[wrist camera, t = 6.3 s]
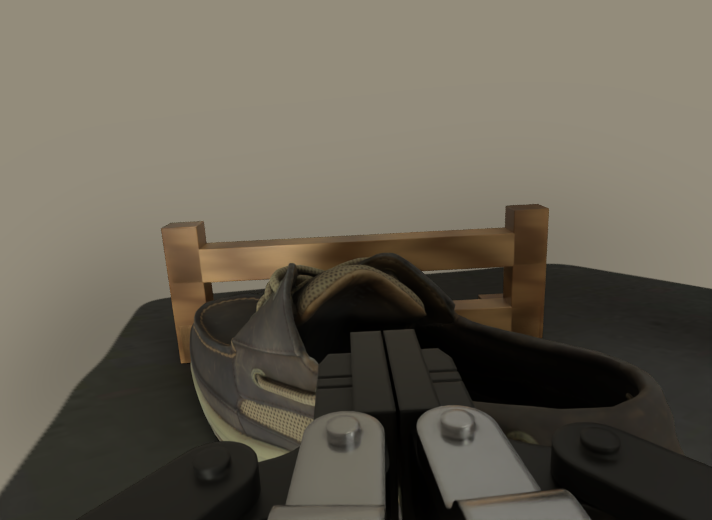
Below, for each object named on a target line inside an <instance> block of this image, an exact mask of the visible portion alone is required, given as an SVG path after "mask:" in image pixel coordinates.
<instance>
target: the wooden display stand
mask: <svg viewBox="0 0 712 520" xmlns="http://www.w3.org/2000/svg"><path fill="white" fill-rule="evenodd" d="M548 218H549V209H548V208H546V207H544V206H541V205H539V204H529V205H510V206H506V213H505V228H487V229H468V230H449V231H429V232H410V233H392V234H391V233H390V234H371V235H352V236H332V237H314V238H294V239H275V240H256V241H237V242H216V243H206V236H205V228H204V222H203V221H197V222H178V223H170V224H168V225H166V226H164V227H163V228H161V232H162V239H163V246H164V253H165V259H166V266H167V273H168V280H169V286H170V293H171V300H172V306H173V313H174V320H175V327H176V333H177V340H178V347H179V353H180V360H181V363H191V357H190V331H191V327H192V325H193V323H194V316H195V313H196V311H197V310H198V309H199V308H200V307H201V306H202V305H203V304H205V303H206V302H209V301H212V300H214V299H213V291H212V283H211V282H225V281H245V280H264V279H270V278H271V276H272V275H273V273H274V272H275V271H276V270H277V269H279V268H282V267H285V266H288V265H289V263H295V265H304V266H309V267H313V268H317V269H321V270H324V271H326V270H328V269H331V268H333V267H335V266H337V265H339V264H342V263H344V262H347V261H350V260H353V259H357V258H364V257H372V256H374V255H376V254H379V253H395V254H397V255H399V256H401V257H403V258H404V259H406V260H407V261H409V262H410V263H412V264H413V265H414V266H415V267H417V268H418V269H419V270H420V271H434V270H453V269H470V268H471V269H472V268H491V267H504V281H503V294H486V295H478V299H475V300H457V301H453V302H454V303H455V309H454V310H455V312H456V313H457V314H458V315H460V316H463V317H465V318H467V319H469V320H471V321H473V322H476V323H480V324H483V325H487V326H491V327H495V328H499V329H502V330H506V331H511V332H516V333H521V334H525V335H529V336H533V337H537V338H542V335H543V316H544V296H545V277H546V256H547V238H548ZM304 276H307V275H304Z"/></svg>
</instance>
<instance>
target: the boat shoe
mask: <svg viewBox="0 0 712 520" xmlns="http://www.w3.org/2000/svg"><path fill="white" fill-rule="evenodd" d="M304 275H307V276H304ZM454 309H455V303H454V302H453V301H452V300H451V299H450V298H449V297H448V296H447V295H446V294H445V293H444V292H443V291H442V290H441V289H440V288H439V287H438V286H437V285H436V284H435V283H434V282H433V281H432V280H430V279H429V278H428V277H427V276H426V275H425V274H424V273H423V272H422V271H420V270H419V269H418V268H417V267H415V266H414V265H413V264H412V263H410V262H409V261H407V260H406V259H404V258H403V257H401V256H399V255H397V254H395V253H379V254H376V255H374V256H372V257H364V258H357V259H353V260H350V261H347V262H344V263H342V264H339V265H337V266H335V267H333V268H331V269H328V270H326V271H324V270H321V269H317V268H313V267H309V266H304V265H295V263H289V265H288V266H285V267H282V268H279V269H277V270H276V271H275V272H274V273H273V275H272V276H271V278H270V281H269V282H268V283H267V286H266V289H265V293H264V295H258V294H240V295H234V296H229V297H224V298H219V299H216V300H212V301H209V302H206V303H205V304H203V305H202V306H201V307H200V308H199V309H198V310H197V311H196V313H195V316H194V323H193V325H192V327H191V331H190V357H191V372H192V377H193V381H194V385H195V389H196V392H197V395H198V398H199V401H200V403H201V406H202V409H203V412H204V414H205V416H206V418H207V420H208V422H209V424H210V425H211V427H212V429H213V431H214V433H215V435H216V436H217V438H218V439H219V441H235V442H240V443H243V444H246V445H248V446H249V447H251V448H252V449H253V450H254V451H255V453H256V454H257V458H258V462H260V461H264V460H268V459H271V458H275V457H278V456H281V455H284V454H286V453H289V452H291V451H293V450H295V449H296V448H298V447H299V446H300V444H301V440H302V436H303V433H304V430H305V429H306V427H307V426H308V425H309V424H310V423H311V422H312V421H313V419H314V408H315V398H316V389H317V379H318V378H317V376H318V365H319V364H320V363H321V362H322V361H323V360H324V358H325V357H326V356H327V355H328V354H340V353H351V340H350V332H369V331H381V335H382V340H383V331H387V330H405V329H414V331H415V334H416V336H417V339H418V342H419V345H420V348H421V349H431V348H438V349H440V350H441V351H443V352H444V353H446V354H447V355H449V356H450V357H452V359H453V362H454V364H455V366H456V368H457V371H458V372H459V374H460V376H461V378H462V381H463V383H464V385H465V387H466V389H467V391H468V393H469V395H470V398H471V400H472V402H473V404H474V406H475V408H476V409H478V410H480V411H483V412H485V413H486V414H488V415H490V416H491V417H492V418H493V419H494V420H495V421H496V422H497V424H498V425H499V427H500V428H501V430H502V431H503V433H504V434H505V436H506V437H507V438H509V439H512V440H515V441H519V442H525V443H531V444H538V445H545V446H552V437H553V434H554V432H555V431H556V430H557V429H558V428H560V427H561V426H563V425H566V424H570V423H575V422H592V423H599V424H604V425H608V426H612V427H615V428H617V429H620V430H623V431H625V432H627V433H630V434H632V435H635V436H637V437H640V438H642V439H645V440H647V441H649V442H652V443H654V444H657V445H659V446H662V447H664V448H667V449H669V450H671V451H674V452H676V453H679V454H681V455H684V453H683V451H682V449H681V446H680V444H679V441H678V439H677V436H676V433H675V425H674V417H673V415H672V412H671V410H670V407H669V405H668V403H667V401H666V399H665V396H664V394H663V391H662V389H661V388H660V386H659V385H658V383H657V382H656V380H655V379H654V378H653V377H652V376H651V375H650V374H648V373H647V372H645V371H644V370H642V369H640V368H638V367H637V366H635V365H633V364H630V363H628V362H625V361H623V360H620V359H618V358H615V357H613V356H610V355H607V354H603V353H600V352H597V351H593V350H589V349H585V348H580V347H576V346H572V345H567V344H563V343H558V342H554V341H550V340H546V339H542V338H537V337H533V336H529V335H525V334H521V333H516V332H511V331H506V330H502V329H499V328H495V327H491V326H487V325H483V324H480V323H476V322H473V321H471V320H469V319H467V318H465V317H463V316H460V315H458V314H457V313H456V312H455V310H454ZM684 456H685V455H684ZM398 503H399V497H398ZM399 520H402V516H401V510H400V503H399Z"/></svg>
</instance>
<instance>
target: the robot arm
mask: <svg viewBox="0 0 712 520" xmlns="http://www.w3.org/2000/svg"><path fill="white" fill-rule="evenodd" d="M350 340H351V353H340V354H328V355H327V356H326V357H325V358H324V360H323V361H322V362H321V363H320V364H319V365H318V376H317V378H318V379H317V389H316V398H315V408H314V419H313V421H312V422H311V423H310V424H309V425H308V426H307V427H306V429H305V430H304V433H303V436H302V440H301V444H300V446H299V447H298V448H296V449H295V450H293V451H291V452H289V453H286V454H284V455H281V456H278V457H275V458H271V459H268V460H264V461H260V462H258V458H257V454H256V453H255V451H254V450H253V449H252V448H251V447H249V446H248V445H246V444H243V443H240V442H235V441H218V442H212V443H207V444H204V445H201V446H198V447H196V448H193V449H191V450H189V451H187V452H186V453H184V454H182V455H181V456H179V457H177V458H176V459H174V460H173V461H171V462H169V463H168V464H166V465H164V466H163V467H161V468H160V469H158V470H156V471H155V472H153V473H151V474H150V475H148V476H147V477H145V478H143V479H142V480H140V481H138V482H137V483H135V484H133V485H132V486H130V487H129V488H127V489H125V490H124V491H122V492H120V493H119V494H117V495H116V496H114V497H112V498H111V499H109V500H107V501H106V502H104V503H103V504H101V505H99V506H98V507H96V508H94V509H93V510H91V511H89V512H88V513H86V514H85V515H83V516H81V517H80V518H78V519H76V520H399V503H400V510H401V516H402V520H712V467H711V466H708V465H706V464H703V463H701V462H698V461H696V460H694V459H691V458H689V457H686V456H684V455H681V454H679V453H676V452H674V451H671V450H669V449H667V448H664V447H662V446H659V445H657V444H654V443H652V442H649V441H647V440H645V439H642V438H640V437H637V436H635V435H632V434H630V433H627V432H625V431H623V430H620V429H617V428H615V427H612V426H608V425H604V424H599V423H592V422H575V423H570V424H566V425H563V426H561V427H560V428H558V429H557V430H556V431H555V432H554V434H553V437H552V446H545V445H538V444H531V443H525V442H519V441H515V440H512V439H509V438H507V437H506V436H505V434H504V433H503V431H502V430H501V428H500V427H499V425H498V424H497V422H496V421H495V420H494V419H493V418H492V417H491V416H490V415H488V414H486V413H485V412H483V411H480V410H478V409H476V408H475V406H474V404H473V402H472V400H471V398H470V395H469V393H468V391H467V389H466V387H465V385H464V383H463V381H462V378H461V376H460V374H459V372H458V371H457V368H456V366H455V364H454V362H453V359H452V357H450V356H449V355H447V354H446V353H444V352H443V351H441V350H440V349H438V348H431V349H421V348H420V345H419V342H418V339H417V336H416V334H415V331H414V329H405V330H387V331H383V340H382V335H381V331H369V332H350ZM398 497H399V503H398Z"/></svg>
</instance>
